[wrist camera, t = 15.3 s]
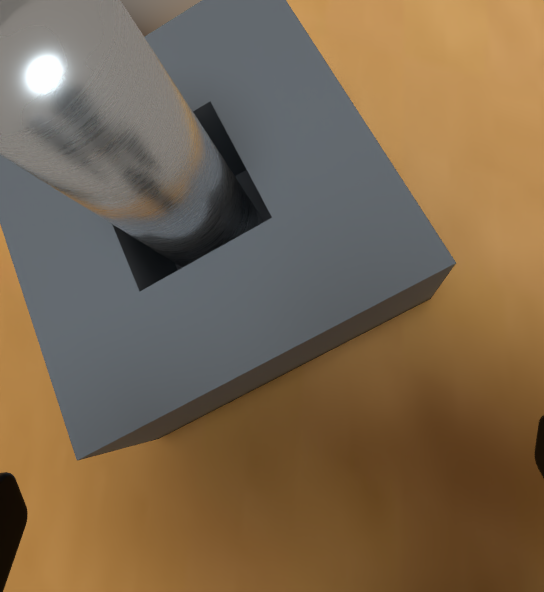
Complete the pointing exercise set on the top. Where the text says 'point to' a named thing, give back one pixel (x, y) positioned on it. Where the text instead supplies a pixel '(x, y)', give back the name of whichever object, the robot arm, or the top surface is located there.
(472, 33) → the top surface
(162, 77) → the aluminium peg
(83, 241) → the slate socket block
